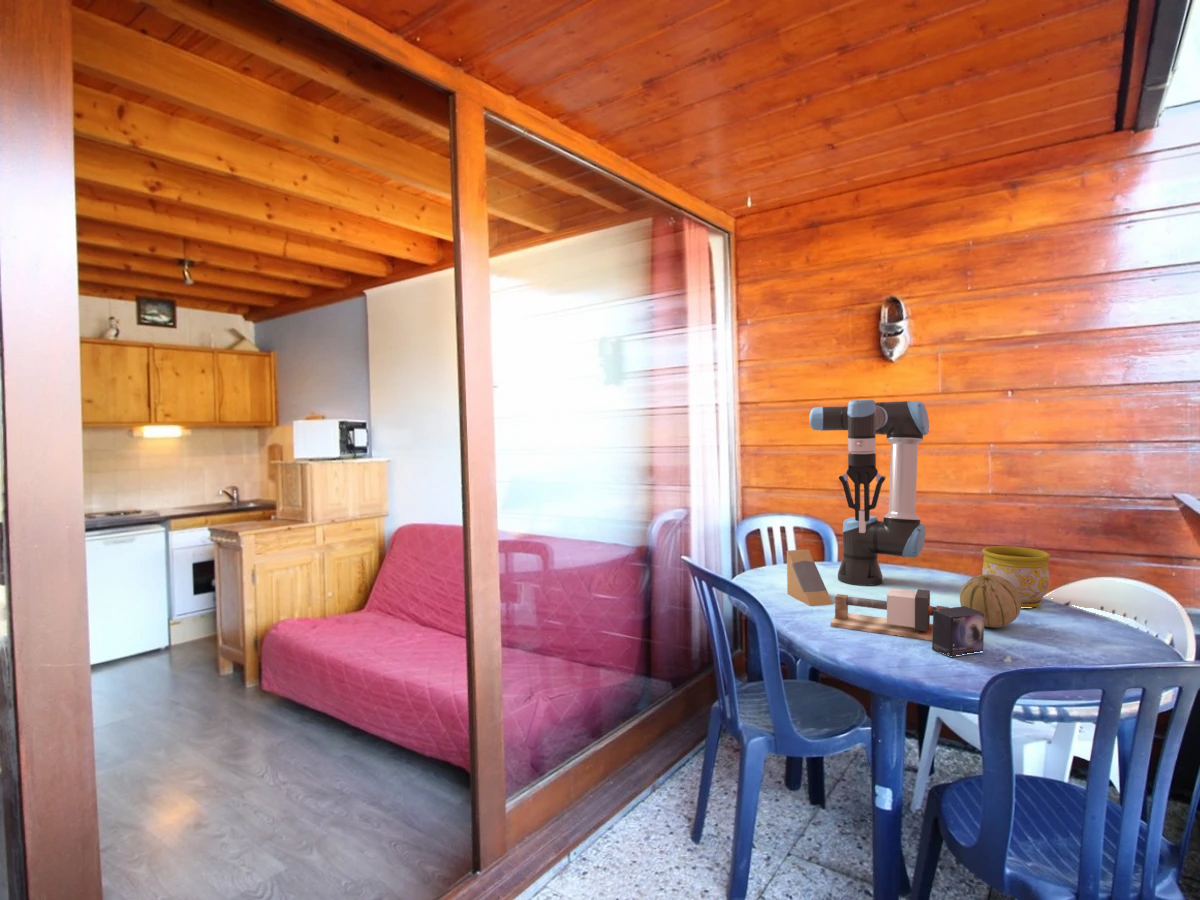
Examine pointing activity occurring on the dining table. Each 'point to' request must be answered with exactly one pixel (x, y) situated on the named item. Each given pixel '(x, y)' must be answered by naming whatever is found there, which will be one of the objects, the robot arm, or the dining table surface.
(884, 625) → the rail
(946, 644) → the small box
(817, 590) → the sandwich container
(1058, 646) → the dining table surface
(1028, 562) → the flowerpot
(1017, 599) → the cantaloupe
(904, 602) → the sleeve
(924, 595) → the ring
